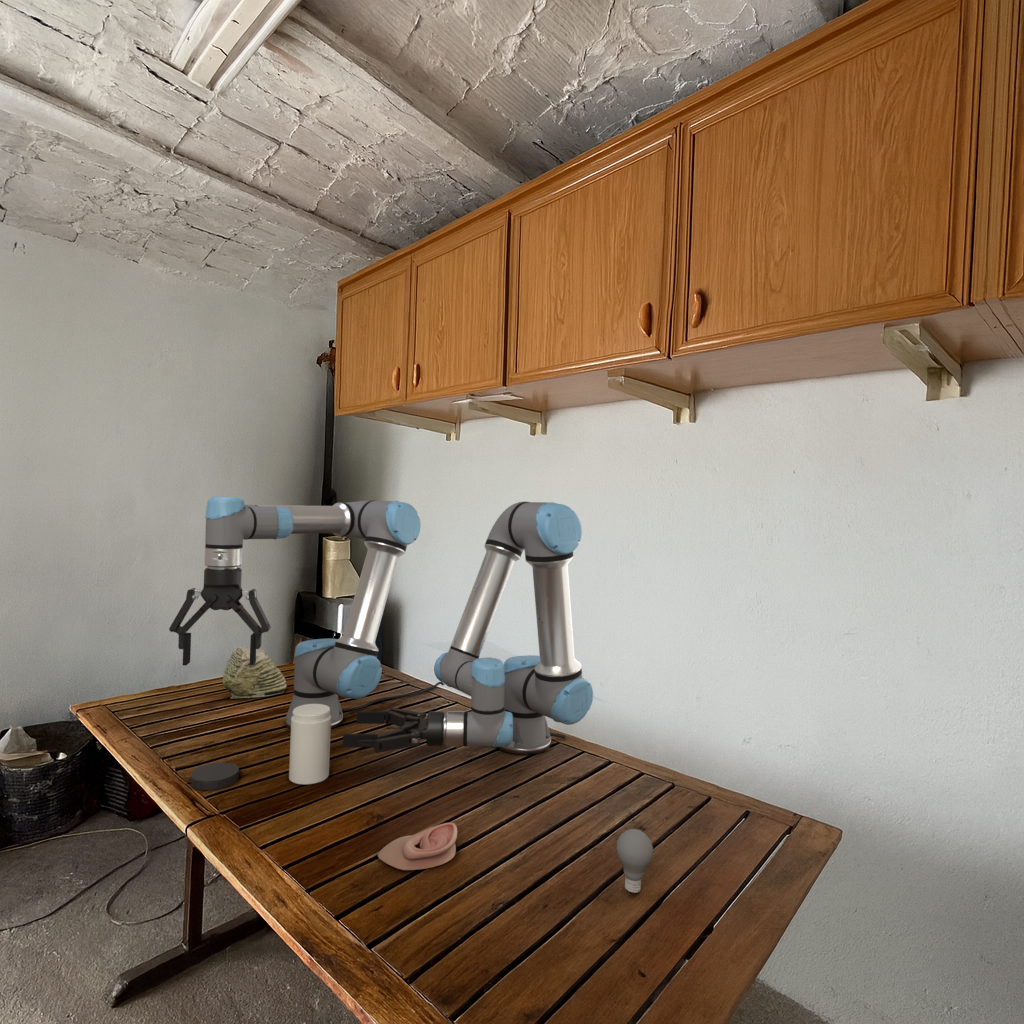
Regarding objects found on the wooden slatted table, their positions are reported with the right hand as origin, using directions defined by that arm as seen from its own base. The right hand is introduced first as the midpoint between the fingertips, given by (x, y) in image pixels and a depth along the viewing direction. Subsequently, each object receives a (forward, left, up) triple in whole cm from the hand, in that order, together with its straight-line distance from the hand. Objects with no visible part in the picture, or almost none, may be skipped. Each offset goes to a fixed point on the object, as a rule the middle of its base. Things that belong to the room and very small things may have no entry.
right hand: (350, 728), depth 143 cm
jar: (+8, -4, -11) cm, 15 cm away
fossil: (+14, -69, -11) cm, 71 cm away
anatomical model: (-5, +35, -11) cm, 37 cm away
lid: (+27, -10, -10) cm, 30 cm away
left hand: (+27, -10, +14) cm, 32 cm away
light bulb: (-34, +59, -11) cm, 69 cm away
